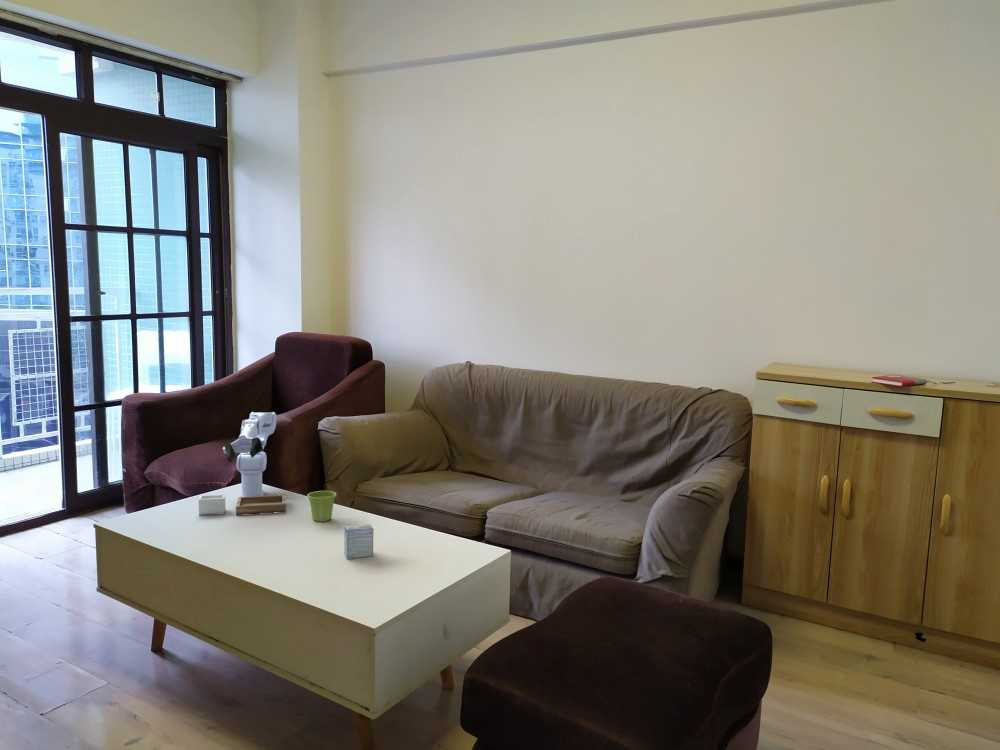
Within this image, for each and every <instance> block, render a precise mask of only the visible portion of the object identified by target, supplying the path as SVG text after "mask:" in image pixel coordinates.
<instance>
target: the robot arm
mask: <svg viewBox="0 0 1000 750" xmlns="http://www.w3.org/2000/svg"><path fill="white" fill-rule="evenodd" d="M276 426H277V413H276V412H274V411H272V412H254V411H251V413H249V418H248V419H244V420H242V422H241V428H240V434H239V436H238V439H236V440H235V441H232V442H231V443H227V444H225V445H224V446H223V447H222V451H223V454H224V455H226V456H227V457H226V459H227V461H228V463H231V462H233V460H234V458H236V470H237V471H238V472H240V474H241V493H240V497H253V496H264V494H263V493H265V490H264V489H263V472H264V471H265V470H266V469H267V462H268V461H267V459H268V458H267V453H266V452H264V449H265V446H266V445H267V440H268V437H269V436H270V435H273V434H274V433H275V430H276ZM236 453H237V454H238V456H237V455H236Z"/></svg>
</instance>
